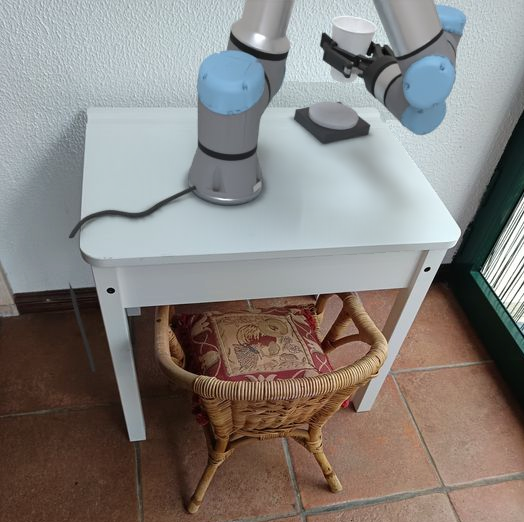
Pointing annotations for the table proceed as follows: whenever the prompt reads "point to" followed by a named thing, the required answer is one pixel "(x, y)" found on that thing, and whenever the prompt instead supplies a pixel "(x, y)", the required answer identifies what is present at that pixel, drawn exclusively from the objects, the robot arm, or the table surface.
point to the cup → (351, 39)
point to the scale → (331, 121)
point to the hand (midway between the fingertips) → (340, 38)
